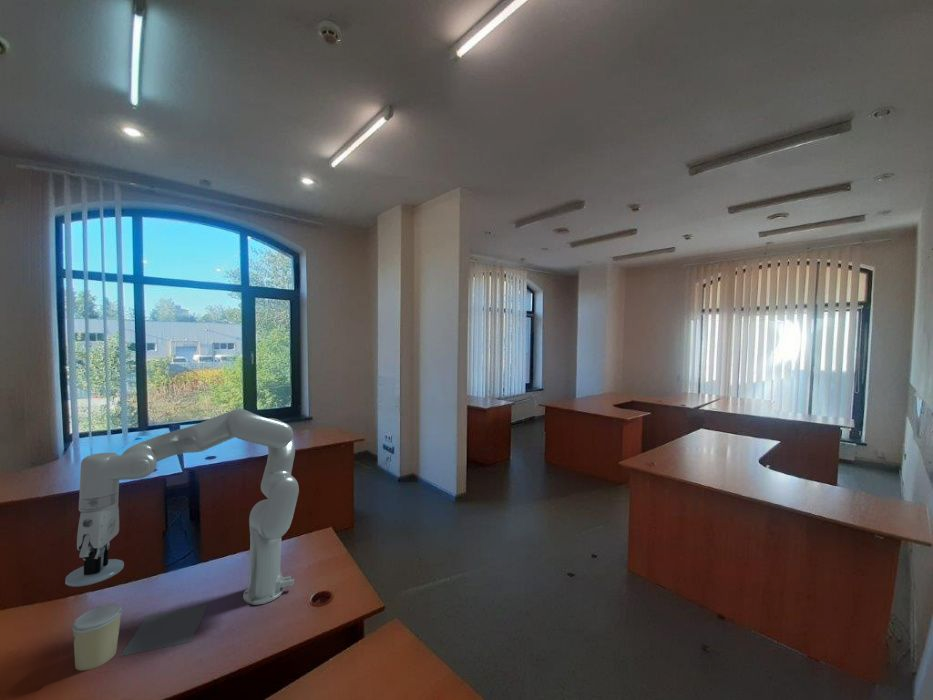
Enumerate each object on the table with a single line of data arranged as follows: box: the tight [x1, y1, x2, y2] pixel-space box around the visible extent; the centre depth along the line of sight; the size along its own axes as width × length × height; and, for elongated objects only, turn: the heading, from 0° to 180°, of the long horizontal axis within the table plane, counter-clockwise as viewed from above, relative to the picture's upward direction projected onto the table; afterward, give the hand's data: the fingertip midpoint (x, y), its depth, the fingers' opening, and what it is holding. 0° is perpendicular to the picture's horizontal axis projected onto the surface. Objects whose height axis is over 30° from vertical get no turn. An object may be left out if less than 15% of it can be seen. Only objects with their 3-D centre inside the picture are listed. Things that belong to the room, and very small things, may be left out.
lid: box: [64, 546, 125, 588], centre depth 99 cm, size 11×11×8 cm
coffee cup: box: [71, 603, 123, 671], centre depth 99 cm, size 9×9×12 cm
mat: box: [119, 604, 209, 657], centre depth 110 cm, size 16×16×1 cm
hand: (96, 569), depth 99 cm, fingers closed on lid, 2 cm apart
